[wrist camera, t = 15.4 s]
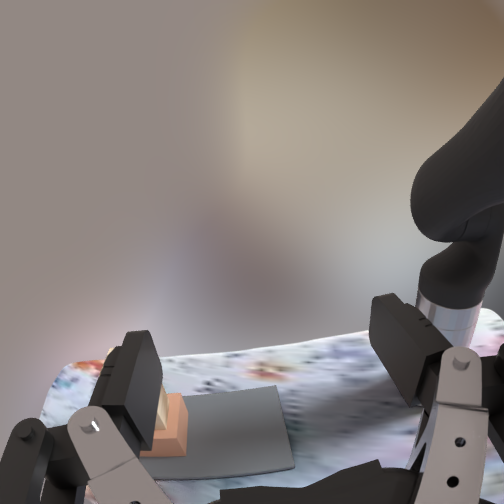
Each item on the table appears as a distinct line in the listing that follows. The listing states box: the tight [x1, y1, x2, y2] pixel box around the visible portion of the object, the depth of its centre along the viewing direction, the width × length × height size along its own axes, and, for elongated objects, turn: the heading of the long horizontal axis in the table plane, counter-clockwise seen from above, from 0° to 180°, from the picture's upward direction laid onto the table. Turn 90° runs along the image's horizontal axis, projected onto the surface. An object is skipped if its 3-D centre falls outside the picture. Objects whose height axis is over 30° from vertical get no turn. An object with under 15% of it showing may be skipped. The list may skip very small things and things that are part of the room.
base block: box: [140, 393, 188, 457], centre depth 37 cm, size 8×8×4 cm
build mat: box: [139, 385, 295, 480], centre depth 38 cm, size 15×23×1 cm, turn 96°
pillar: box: [99, 348, 170, 430], centre depth 34 cm, size 5×5×10 cm
